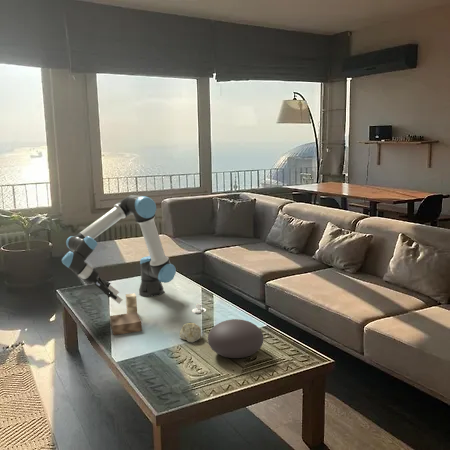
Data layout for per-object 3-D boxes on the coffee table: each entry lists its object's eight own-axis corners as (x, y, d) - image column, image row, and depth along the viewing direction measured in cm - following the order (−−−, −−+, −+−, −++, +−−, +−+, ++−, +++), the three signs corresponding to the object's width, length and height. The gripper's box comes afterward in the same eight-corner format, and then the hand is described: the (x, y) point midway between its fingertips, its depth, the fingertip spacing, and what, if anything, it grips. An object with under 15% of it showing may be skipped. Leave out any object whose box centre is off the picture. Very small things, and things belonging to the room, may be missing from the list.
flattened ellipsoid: (246, 372, 205) (246, 338, 202) (197, 358, 218) (196, 326, 215) (273, 349, 226) (273, 318, 223) (226, 338, 239) (226, 308, 236)
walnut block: (137, 321, 263) (136, 312, 262) (141, 330, 250) (141, 321, 249) (110, 324, 258) (109, 315, 257) (113, 335, 245) (113, 325, 244)
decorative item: (209, 329, 239) (195, 327, 232) (203, 346, 239) (188, 344, 232) (193, 319, 248) (179, 317, 240) (187, 336, 247) (172, 334, 240)
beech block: (135, 312, 276) (134, 293, 273) (137, 315, 271) (136, 296, 269) (126, 313, 274) (125, 294, 272) (128, 316, 269) (127, 297, 267)
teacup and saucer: (199, 315, 270) (198, 308, 269) (188, 312, 274) (187, 305, 274) (209, 310, 276) (208, 303, 276) (198, 307, 281) (198, 300, 280)
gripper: (82, 273, 272) (111, 295, 279) (85, 286, 248) (117, 310, 256) (91, 262, 272) (120, 285, 280) (95, 275, 249) (127, 299, 257)
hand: (119, 297), depth 268 cm, fingers open, 13 cm apart
